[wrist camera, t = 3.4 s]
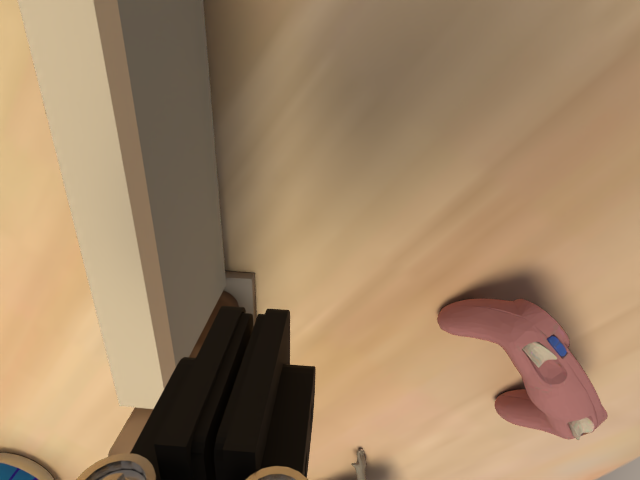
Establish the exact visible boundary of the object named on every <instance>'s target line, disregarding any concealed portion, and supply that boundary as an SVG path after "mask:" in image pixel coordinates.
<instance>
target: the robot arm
mask: <svg viewBox="0 0 640 480" xmlns="http://www.w3.org/2000/svg"><path fill="white" fill-rule="evenodd" d="M314 395H315V367H314V366H300V365H290V311H289V310H279V309H267V310H266V313H265V314H258V316H257V318H256V321H255V324H254V325H253V314H251V313H246V310H245V308H244V307H234V306H221V308H220V309H219V312H218V314H217V316H216V318H215V320H214V322H213V324H212V326H211V328H210V330H209V332H208V334H207V336H206V338H205V340H204V342H203V344H202V346H201V349H200V351H199V353H198V355H197V357H196V358H191V357H183V358H182V359H181V360H180V361H179V363H178V364H177V366H176V368H175V370H174V372H173V373H172V375H171V377H170V379H169V381H168V383H167V385H166V387H165V388H164V390H163V392H162V394H161V396H160V398H159V400H158V402H157V403H156V405H155V407H154V409H153V411H152V413H151V415H150V417H149V418H148V420H147V422H146V424H145V426H144V428H143V430H142V432H141V433H140V435H139V437H138V439H137V441H136V443H135V445H134V447H133V448H132V450H131V452H130V453H123V454H117V455H112V456H109V457H107V458H105V459H102V460H100V461H98V462H96V463H95V464H93V465H92V466H90V467H89V468H87V469H86V470H85V471H84V472H83V473H82V474H81V475H80V476H79V477H78V478H77V479H76V480H308V479H307V471H308V461H309V451H310V442H311V432H312V422H313V410H314Z"/></svg>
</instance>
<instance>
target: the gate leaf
mask: <svg viewBox="0 0 640 480" xmlns="http://www.w3.org/2000/svg"><path fill="white" fill-rule="evenodd" d="M18 4H19V8H20V12H21V16H22V20H23V24H24V28H25V32H26V36H27V40H28V44H29V48H30V52H31V56H32V60H33V64H34V68H35V72H36V76H37V80H38V84H39V87H40V91H41V95H42V99H43V103H44V107H45V111H46V115H47V119H48V123H49V127H50V131H51V135H52V139H53V143H54V147H55V151H56V155H57V159H58V163H59V167H60V171H61V175H62V179H63V183H64V187H65V191H66V195H67V199H68V203H69V207H70V211H71V215H72V219H73V223H74V227H75V231H76V235H77V239H78V243H79V247H80V251H81V255H82V259H83V262H84V266H85V270H86V274H87V278H88V282H89V286H90V290H91V294H92V298H93V302H94V306H95V310H96V314H97V318H98V322H99V326H100V330H101V334H102V338H103V342H104V346H105V350H106V354H107V358H108V362H109V366H110V370H111V374H112V378H113V382H114V386H115V390H116V394H117V398H118V402H119V406H125V407H136V408H147V409H154V407H155V405H156V403H157V402H158V400H159V398H160V396H161V394H162V392H163V390H164V388H165V387H166V385H167V383H168V381H169V379H170V377H171V375H172V373H173V372H174V370H175V368H176V366H177V364H178V363H179V361H180V360H181V359H182V358H183V357H189V356H190V354H191V352H192V350H193V348H194V346H195V344H196V342H197V340H198V339H199V337H200V335H201V333H202V331H203V329H204V327H205V325H206V323H207V321H208V319H209V317H210V315H211V313H212V311H213V309H214V307H215V306H216V304H217V302H218V300H219V298H220V296H221V294H222V292H223V290H224V288H225V286H226V276H225V264H224V251H223V239H222V227H221V214H220V202H219V189H218V177H217V164H216V152H215V139H214V127H213V114H212V102H211V89H210V77H209V64H208V52H207V40H206V27H205V15H204V2H203V0H18Z"/></svg>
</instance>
